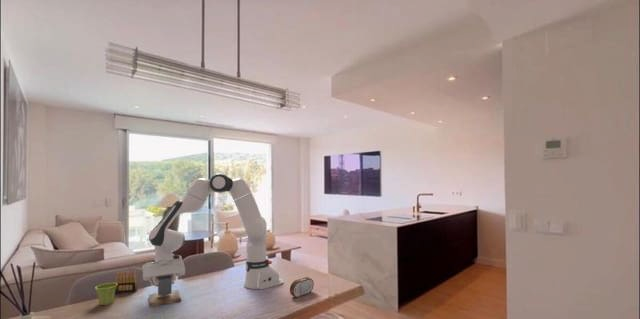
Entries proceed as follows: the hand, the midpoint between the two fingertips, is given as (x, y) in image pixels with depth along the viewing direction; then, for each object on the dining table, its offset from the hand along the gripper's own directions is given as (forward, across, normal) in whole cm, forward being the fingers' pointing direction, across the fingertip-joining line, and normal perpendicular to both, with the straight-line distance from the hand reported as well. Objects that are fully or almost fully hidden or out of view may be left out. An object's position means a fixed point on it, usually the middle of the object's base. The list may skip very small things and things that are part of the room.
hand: (164, 284), depth 168 cm
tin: (+27, +64, -16) cm, 71 cm away
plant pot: (-2, -26, +13) cm, 29 cm away
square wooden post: (+4, 0, +5) cm, 6 cm away
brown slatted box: (-11, -18, +23) cm, 31 cm away
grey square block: (+3, 0, +4) cm, 4 cm away
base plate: (+5, 0, +6) cm, 8 cm away
